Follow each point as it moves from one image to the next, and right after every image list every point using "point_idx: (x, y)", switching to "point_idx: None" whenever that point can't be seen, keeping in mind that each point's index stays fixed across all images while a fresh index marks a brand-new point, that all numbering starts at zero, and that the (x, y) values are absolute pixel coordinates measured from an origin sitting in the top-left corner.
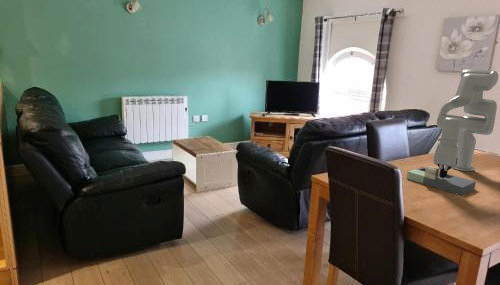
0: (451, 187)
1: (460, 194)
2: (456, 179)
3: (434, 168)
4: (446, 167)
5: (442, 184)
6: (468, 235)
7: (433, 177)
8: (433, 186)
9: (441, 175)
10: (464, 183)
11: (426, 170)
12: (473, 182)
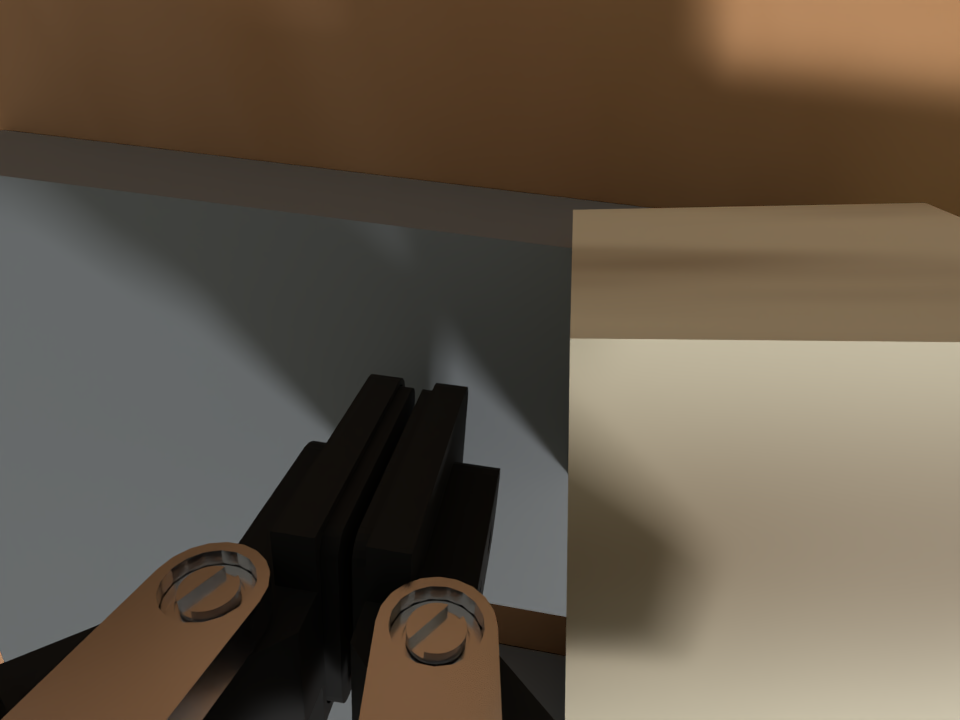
0: (137, 170)
1: (8, 131)
2: None
3: (722, 579)
4: (84, 698)
5: (352, 197)
6: None
7: (612, 221)
8: (576, 200)
9: (413, 420)
10: (17, 482)
11: None
12: (2, 642)
